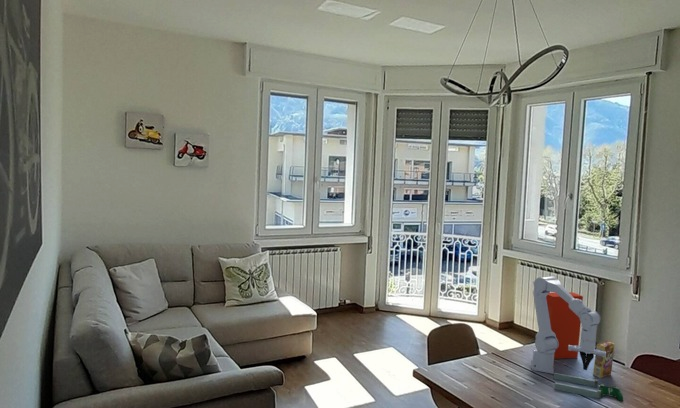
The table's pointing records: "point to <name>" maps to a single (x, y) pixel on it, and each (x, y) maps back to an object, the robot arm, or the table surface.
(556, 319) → the file binder
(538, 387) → the table surface
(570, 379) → the pair of grey bars
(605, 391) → the dark green curved piece
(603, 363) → the candy box
